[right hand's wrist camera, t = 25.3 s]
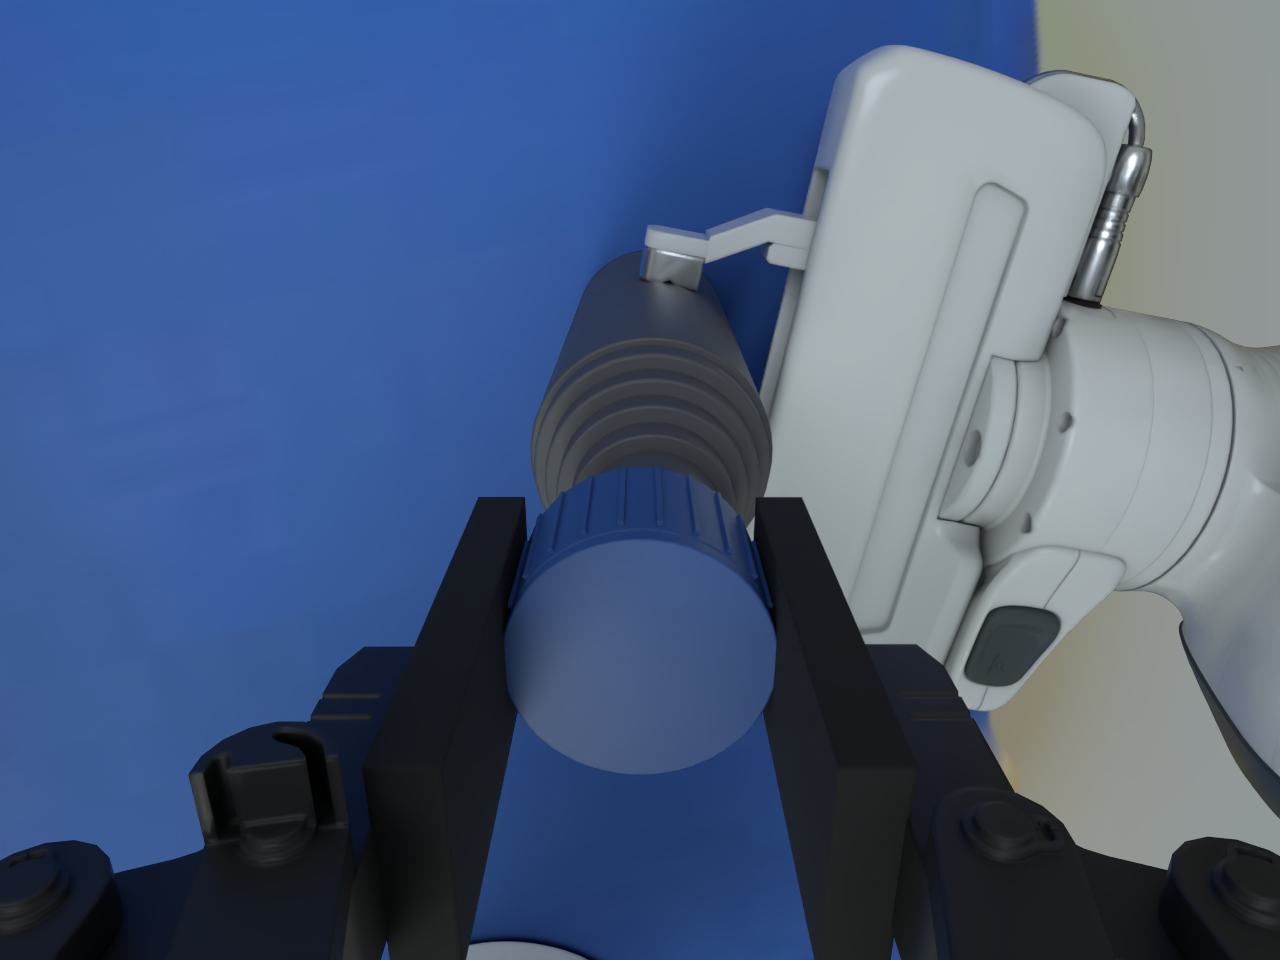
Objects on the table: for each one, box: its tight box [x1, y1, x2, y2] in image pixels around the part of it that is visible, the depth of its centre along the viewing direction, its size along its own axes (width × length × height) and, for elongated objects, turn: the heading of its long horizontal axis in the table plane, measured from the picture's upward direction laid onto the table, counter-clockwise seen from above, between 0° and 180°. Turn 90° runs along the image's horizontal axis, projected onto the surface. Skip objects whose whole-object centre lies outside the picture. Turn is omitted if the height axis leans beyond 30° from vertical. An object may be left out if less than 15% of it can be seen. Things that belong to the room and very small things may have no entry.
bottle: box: [531, 251, 773, 528], centre depth 24 cm, size 6×6×21 cm
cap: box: [504, 467, 777, 775], centre depth 14 cm, size 4×4×3 cm
